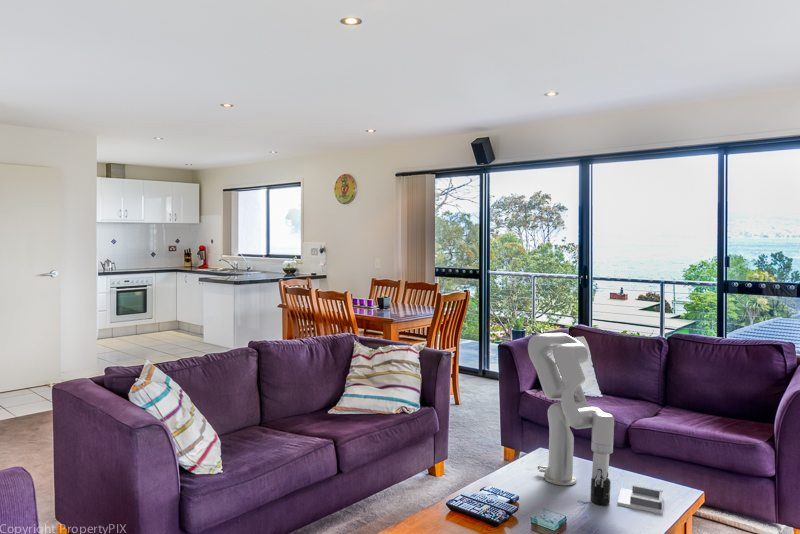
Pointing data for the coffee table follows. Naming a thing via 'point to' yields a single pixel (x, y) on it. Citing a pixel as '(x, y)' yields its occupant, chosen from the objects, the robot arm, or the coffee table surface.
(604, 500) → the supplement bottle
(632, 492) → the cradle tray
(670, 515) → the coffee table surface
